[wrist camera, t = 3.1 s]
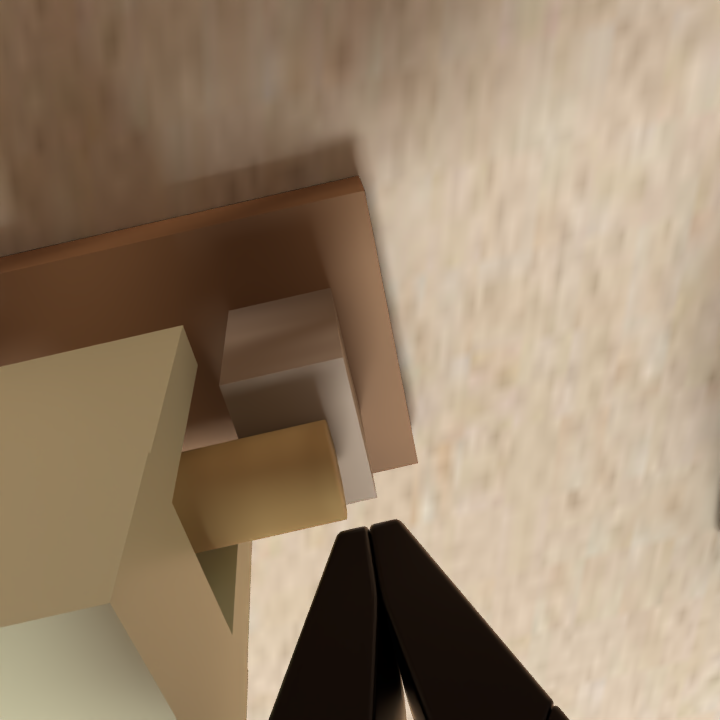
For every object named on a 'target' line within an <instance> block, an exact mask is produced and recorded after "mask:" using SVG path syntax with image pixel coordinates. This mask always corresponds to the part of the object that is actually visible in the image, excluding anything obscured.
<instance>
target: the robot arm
mask: <svg viewBox="0 0 720 720" xmlns="http://www.w3.org/2000/svg"><path fill="white" fill-rule="evenodd" d="M401 678H402V679H401ZM402 681H403V685H404V689H405V693H406V696H407V700H408V703H409V706H410V710H411V713H412V716H413V719H414V720H569V719H568V718H567V716H566V715H565V714H564V713H563V712H562V711H561V709H560V708H559V707H558V706H554V705H553V701H552V699H551V698H550V697H549V696H548V694H547V693H546V692H545V691H544V690H543V689H542V687H541V686H540V685H539V684H538V683H537V681H536V680H535V679H534V678H533V677H532V676H531V674H530V673H529V672H528V671H527V670H526V668H525V667H524V666H523V665H522V664H521V663H520V661H519V660H518V659H517V658H516V657H515V655H514V654H513V653H512V652H511V651H510V649H509V648H508V647H507V646H506V645H505V644H504V642H503V641H502V640H501V639H500V638H499V636H498V635H497V634H496V633H495V632H494V631H493V629H492V628H491V627H490V626H489V625H488V623H487V622H486V621H485V620H484V619H483V618H482V616H481V615H480V614H479V613H478V612H477V610H476V609H475V608H474V607H473V606H472V605H471V603H470V602H469V601H468V600H467V599H466V597H465V596H464V595H463V594H462V593H461V591H460V590H459V589H458V588H457V587H456V586H455V584H454V583H453V582H452V581H451V580H450V578H449V577H448V576H447V575H446V574H445V573H444V571H443V570H442V569H441V568H440V567H439V565H438V564H437V563H436V562H435V561H434V560H433V558H432V557H431V556H430V555H429V554H428V552H427V551H426V550H425V549H424V548H423V547H422V545H421V544H420V543H419V542H418V541H417V539H416V538H415V537H414V536H413V535H412V534H411V532H410V531H409V530H408V529H407V528H406V526H405V525H404V524H403V523H402V522H401V521H400V520H397V519H394V520H390V521H386V522H381V523H377V524H373V525H372V526H371V527H370V531H369V529H368V528H367V527H359V528H354V529H350V530H345V531H342V532H340V533H339V534H338V535H337V537H336V540H335V542H334V545H333V548H332V550H331V553H330V556H329V558H328V561H327V564H326V566H325V569H324V572H323V575H322V577H321V580H320V583H319V585H318V588H317V591H316V593H315V596H314V599H313V602H312V604H311V607H310V610H309V612H308V615H307V618H306V620H305V623H304V626H303V629H302V631H301V634H300V637H299V639H298V642H297V645H296V647H295V650H294V653H293V655H292V658H291V661H290V664H289V666H288V669H287V672H286V674H285V677H284V680H283V682H282V685H281V688H280V691H279V693H278V696H277V699H276V701H275V704H274V707H273V709H272V712H271V715H270V717H269V720H406V709H405V699H404V691H403V685H402Z"/></svg>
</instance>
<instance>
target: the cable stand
mask: <svg viewBox="0 0 720 720" xmlns="http://www.w3.org/2000/svg"><path fill="white" fill-rule="evenodd" d="M181 325H183V327H184V330H185V332H186V335H187V338H188V340H189V343H190V346H191V348H192V351H193V354H194V356H195V359H196V362H197V364H198V367H197V372H196V378H195V383H194V388H193V393H192V399H191V404H190V409H189V415H188V420H187V425H186V431H185V436H184V441H183V446H182V452H181V457H180V462H179V468H178V473H177V478H176V483H175V489H174V494H173V499H172V504H173V506H174V508H175V510H176V513H177V515H178V517H179V519H180V521H181V524H182V526H183V528H184V530H185V532H186V535H187V537H188V539H189V541H190V543H191V546H192V548H193V550H194V552H195V553H200V552H204V551H208V550H213V549H217V548H222V547H226V546H231V545H235V544H239V543H244V542H248V541H253V540H257V539H262V538H266V537H270V536H275V535H279V534H284V533H288V532H292V531H297V530H301V529H306V528H310V527H315V526H319V525H323V524H328V523H332V522H337V521H341V520H346V519H347V508H346V504H351V503H355V502H360V501H364V500H368V499H373V498H377V495H376V490H375V484H374V479H373V474H372V473H376V472H381V471H385V470H390V469H394V468H398V467H403V466H407V465H412V464H416V463H418V460H417V455H416V450H415V445H414V440H413V435H412V430H411V425H410V420H409V415H408V409H407V404H406V399H405V394H404V389H403V384H402V379H401V374H400V369H399V364H398V358H397V353H396V348H395V343H394V338H393V333H392V328H391V323H390V318H389V313H388V308H387V302H386V297H385V292H384V287H383V282H382V277H381V272H380V267H379V262H378V257H377V251H376V246H375V241H374V236H373V231H372V226H371V221H370V216H369V211H368V206H367V200H366V195H365V190H364V188H363V185H362V183H361V180H360V178H359V176H355V177H350V178H346V179H342V180H337V181H333V182H329V183H324V184H320V185H315V186H311V187H307V188H302V189H298V190H294V191H289V192H285V193H280V194H276V195H272V196H267V197H263V198H258V199H254V200H250V201H245V202H241V203H237V204H232V205H228V206H223V207H219V208H215V209H210V210H206V211H202V212H197V213H193V214H188V215H184V216H180V217H175V218H171V219H167V220H162V221H158V222H153V223H149V224H145V225H140V226H136V227H131V228H127V229H123V230H118V231H114V232H110V233H105V234H101V235H96V236H92V237H88V238H83V239H79V240H75V241H70V242H66V243H61V244H57V245H53V246H48V247H44V248H39V249H35V250H31V251H26V252H22V253H18V254H13V255H9V256H4V257H0V367H1V366H6V365H10V364H15V363H19V362H23V361H28V360H32V359H36V358H41V357H45V356H50V355H54V354H58V353H63V352H67V351H72V350H76V349H80V348H85V347H89V346H94V345H98V344H102V343H107V342H111V341H116V340H120V339H124V338H129V337H133V336H138V335H142V334H146V333H151V332H155V331H159V330H164V329H168V328H173V327H177V326H181Z"/></svg>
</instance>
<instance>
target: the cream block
mask: <svg viewBox="0 0 720 720" xmlns="http://www.w3.org/2000/svg"><path fill="white" fill-rule="evenodd" d="M197 367H198V364H197V362H196V359H195V356H194V354H193V351H192V348H191V346H190V343H189V340H188V338H187V335H186V332H185V330H184V327H183V325H181V326H177V327H173V328H168V329H164V330H159V331H155V332H151V333H146V334H142V335H138V336H133V337H129V338H124V339H120V340H116V341H111V342H107V343H102V344H98V345H94V346H89V347H85V348H80V349H76V350H72V351H67V352H63V353H58V354H54V355H50V356H45V357H41V358H36V359H32V360H28V361H23V362H19V363H15V364H10V365H6V366H1V367H0V720H246V717H247V689H248V669H247V662H248V635H249V609H250V582H251V555H252V541H248V542H244V543H239V544H235V545H231V546H226V547H222V548H217V549H213V550H208V551H204V552H200V553H195V552H194V550H193V548H192V546H191V543H190V541H189V539H188V537H187V535H186V532H185V530H184V528H183V526H182V524H181V521H180V519H179V517H178V515H177V513H176V510H175V508H174V506H173V504H172V499H173V494H174V489H175V483H176V478H177V473H178V468H179V462H180V457H181V452H182V446H183V441H184V436H185V431H186V425H187V420H188V415H189V409H190V404H191V399H192V393H193V388H194V383H195V378H196V372H197Z"/></svg>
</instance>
